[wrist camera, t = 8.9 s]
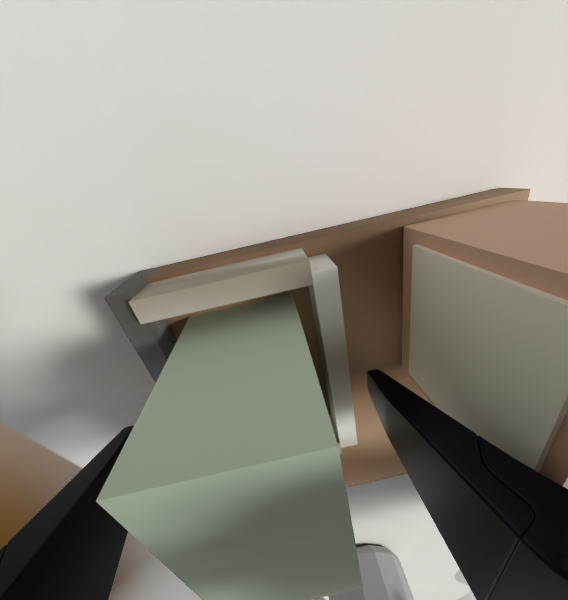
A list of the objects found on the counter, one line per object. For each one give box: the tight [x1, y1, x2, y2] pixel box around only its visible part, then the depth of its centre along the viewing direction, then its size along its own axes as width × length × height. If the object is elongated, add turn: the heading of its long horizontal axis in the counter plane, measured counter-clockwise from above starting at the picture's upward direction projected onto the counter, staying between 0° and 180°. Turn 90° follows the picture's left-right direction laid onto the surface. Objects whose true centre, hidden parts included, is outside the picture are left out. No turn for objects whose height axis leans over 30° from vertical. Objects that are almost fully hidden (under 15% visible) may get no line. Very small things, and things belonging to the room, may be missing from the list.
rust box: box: [402, 200, 568, 489], centre depth 7 cm, size 4×6×6 cm, turn 12°
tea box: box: [96, 293, 363, 600], centre depth 8 cm, size 4×6×6 cm, turn 12°
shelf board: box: [105, 188, 530, 487], centre depth 12 cm, size 16×15×3 cm
